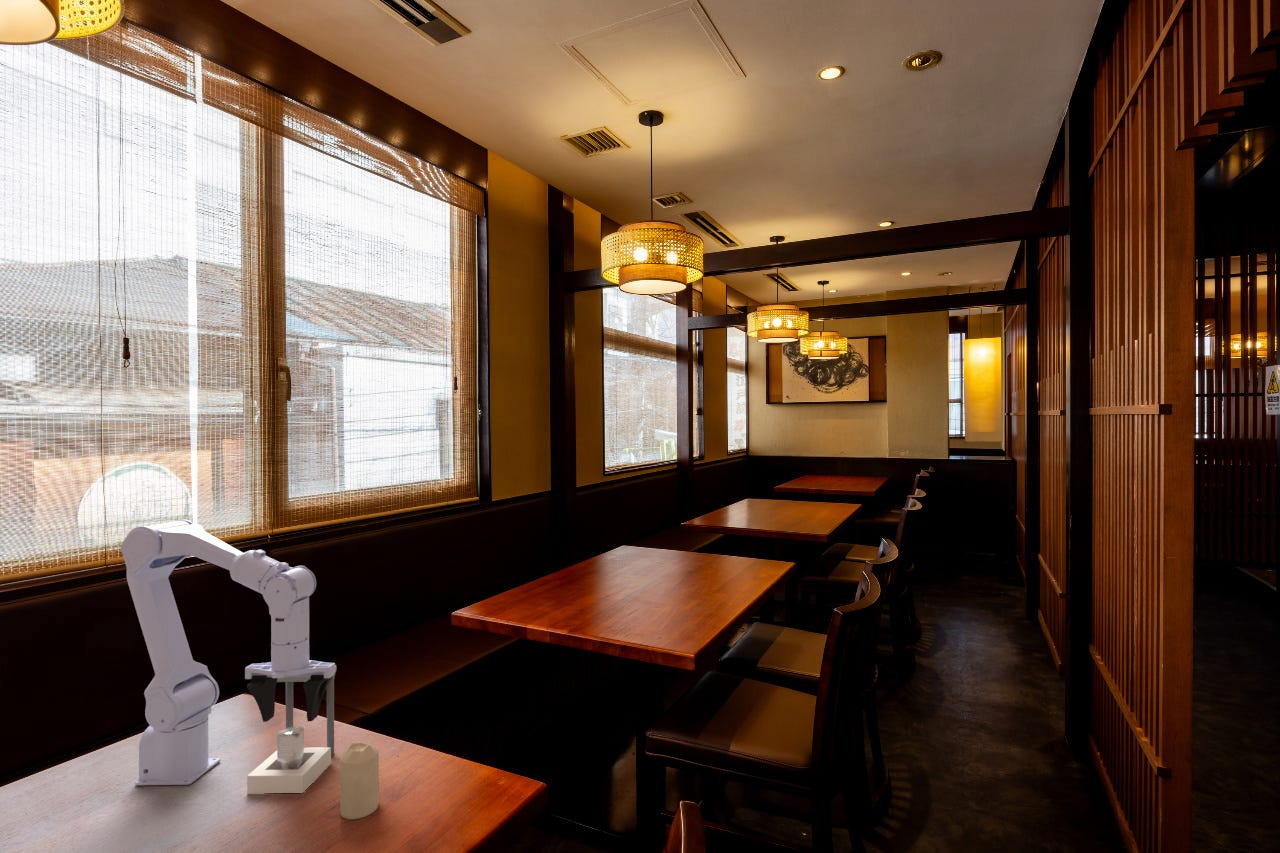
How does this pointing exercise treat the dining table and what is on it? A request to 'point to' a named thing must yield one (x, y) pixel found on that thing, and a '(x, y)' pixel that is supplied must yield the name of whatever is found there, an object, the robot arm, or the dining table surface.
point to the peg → (290, 748)
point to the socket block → (289, 773)
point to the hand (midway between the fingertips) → (290, 719)
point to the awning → (330, 705)
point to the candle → (359, 781)
